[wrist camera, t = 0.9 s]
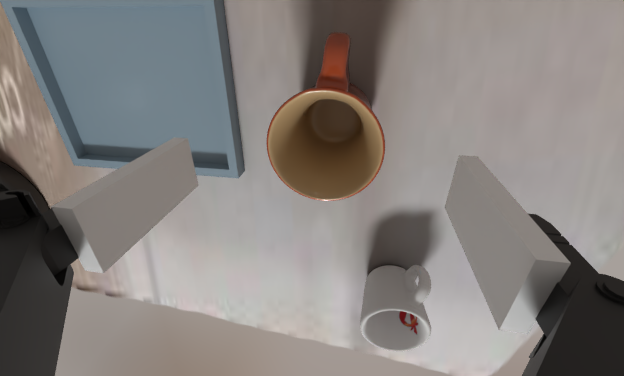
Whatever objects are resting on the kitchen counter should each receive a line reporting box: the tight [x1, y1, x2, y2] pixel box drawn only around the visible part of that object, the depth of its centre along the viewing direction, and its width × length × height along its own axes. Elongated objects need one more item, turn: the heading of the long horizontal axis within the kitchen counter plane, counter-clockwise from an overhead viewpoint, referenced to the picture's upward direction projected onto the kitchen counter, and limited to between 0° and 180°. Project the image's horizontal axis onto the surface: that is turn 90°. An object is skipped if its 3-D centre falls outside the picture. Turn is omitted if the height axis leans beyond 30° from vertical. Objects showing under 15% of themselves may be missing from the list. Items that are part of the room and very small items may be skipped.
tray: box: [0, 0, 245, 178], centre depth 31 cm, size 22×18×2 cm
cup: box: [360, 265, 431, 351], centre depth 35 cm, size 11×8×8 cm
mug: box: [267, 32, 385, 201], centre depth 24 cm, size 12×9×10 cm
